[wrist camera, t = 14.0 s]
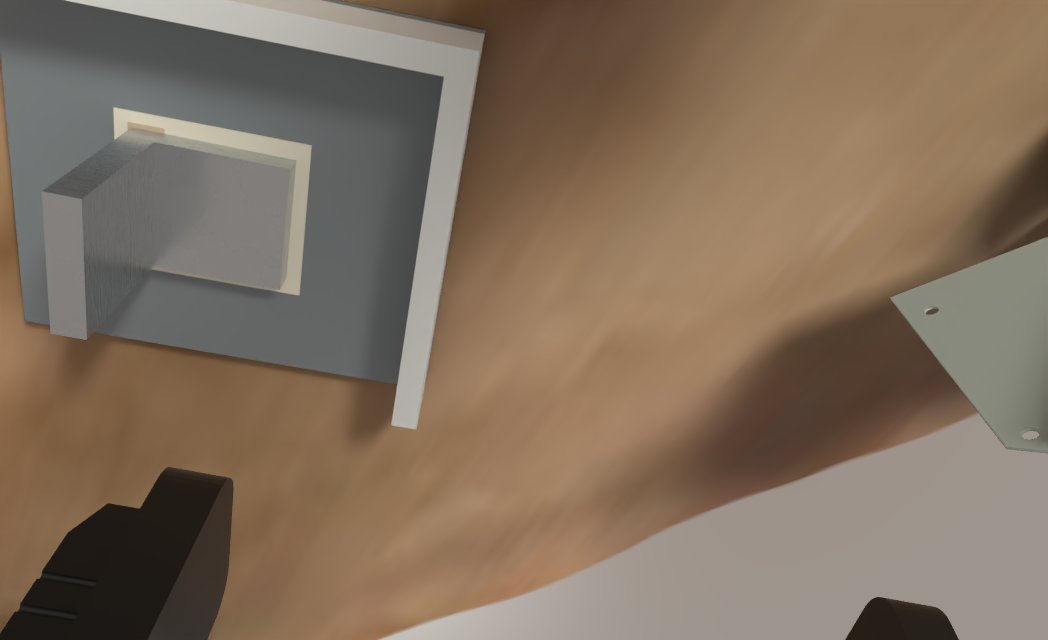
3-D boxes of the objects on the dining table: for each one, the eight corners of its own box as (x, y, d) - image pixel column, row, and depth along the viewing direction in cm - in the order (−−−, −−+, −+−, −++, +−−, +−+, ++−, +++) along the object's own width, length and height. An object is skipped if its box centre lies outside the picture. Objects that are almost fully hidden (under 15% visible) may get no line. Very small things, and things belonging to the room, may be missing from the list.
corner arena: (-1, -70, 35) (-65, -60, 31) (485, 30, 37) (479, 51, 33) (32, 313, 44) (-15, 357, 40) (426, 380, 45) (416, 429, 42)
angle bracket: (132, 249, 41) (50, 333, 34) (131, 127, 38) (41, 191, 31) (286, 278, 42) (236, 366, 35) (296, 160, 39) (244, 230, 32)
